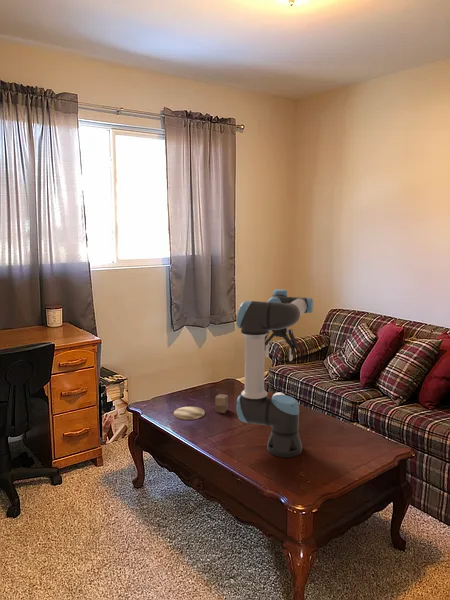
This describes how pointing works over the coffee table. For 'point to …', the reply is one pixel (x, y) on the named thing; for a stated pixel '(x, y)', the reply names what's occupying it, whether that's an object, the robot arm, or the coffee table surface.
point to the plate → (189, 413)
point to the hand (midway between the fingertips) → (278, 358)
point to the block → (221, 403)
